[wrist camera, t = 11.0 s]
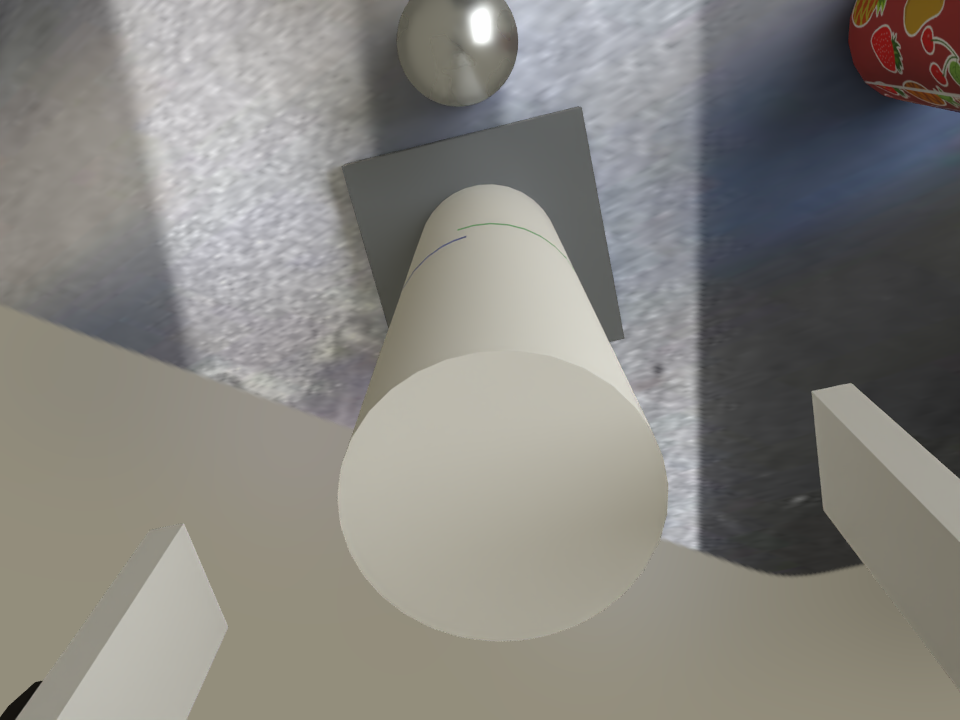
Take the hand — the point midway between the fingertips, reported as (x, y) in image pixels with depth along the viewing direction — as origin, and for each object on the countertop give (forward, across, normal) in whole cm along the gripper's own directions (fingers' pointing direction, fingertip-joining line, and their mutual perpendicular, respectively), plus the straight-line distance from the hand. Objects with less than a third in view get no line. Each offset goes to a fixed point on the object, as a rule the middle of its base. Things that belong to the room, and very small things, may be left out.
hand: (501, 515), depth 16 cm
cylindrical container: (+26, 0, 0) cm, 26 cm away
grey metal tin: (+27, +1, +9) cm, 29 cm away
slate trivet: (+27, 0, -1) cm, 27 cm away
